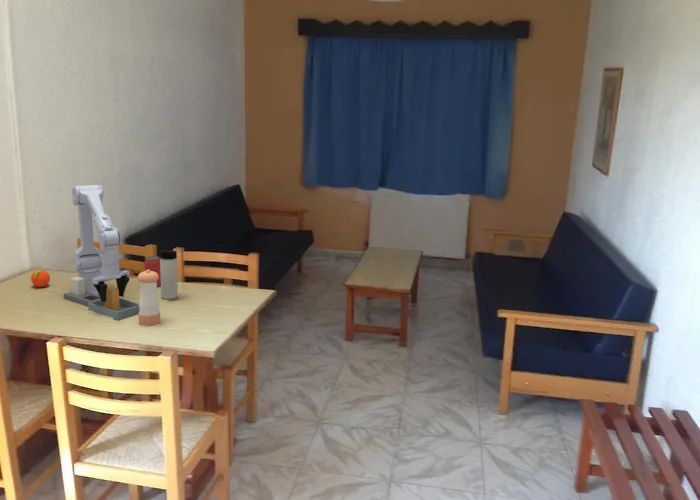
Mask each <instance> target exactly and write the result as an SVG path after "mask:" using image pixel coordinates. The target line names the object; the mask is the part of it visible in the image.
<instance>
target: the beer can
mask: <svg viewBox="0 0 700 500" xmlns="http://www.w3.org/2000/svg"><path fill="white" fill-rule="evenodd" d="M146 270H150V271H153V272H156V273H157V274H158V276H159V278H158V281H156V282H157V287H161V272H160V256H156V255H150V256H146V257H145V260H144V271H146Z"/></svg>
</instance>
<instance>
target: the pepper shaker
mask: <svg viewBox="0 0 700 500" xmlns="http://www.w3.org/2000/svg"><path fill="white" fill-rule="evenodd" d="M158 278H159V276H158V274H157V273H156V272H153V271H150V270H146V271H145V270H143V271H142V272H140V273H139V274H138V275H137V281H138V282H139V283H140V284H139V285H140V286H139V289H140V295H139V300H138V301H139V303H138V304H139V310H140V312H139V314H138V324H140V325H142V326H154V325H157V324H158V325H159V324H160V323H161V311H160V301H159V297H158V288H157V282H156V281H158Z"/></svg>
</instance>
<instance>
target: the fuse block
mask: <svg viewBox="0 0 700 500" xmlns="http://www.w3.org/2000/svg"><path fill="white" fill-rule="evenodd" d="M63 299H64V300H66V301H70V302H73V303H76V304H77V305H78V304H79V305H82V306H85V307H88V303H91V302H94V301H98V300H101V299H100V296H99V294H97V293H94V294H93V293H90V292H86V291H85V294H84V295H81V296H76V295H73V294H71V291H69V292H63Z"/></svg>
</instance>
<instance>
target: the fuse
mask: <svg viewBox="0 0 700 500" xmlns="http://www.w3.org/2000/svg"><path fill="white" fill-rule="evenodd" d="M69 279H70V281H69V282H70V292H71V294H73V295H76V296H81V295H84V294H85V280H84V279H83V278H80V277H79V276H74V277H70V278H69Z"/></svg>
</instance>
